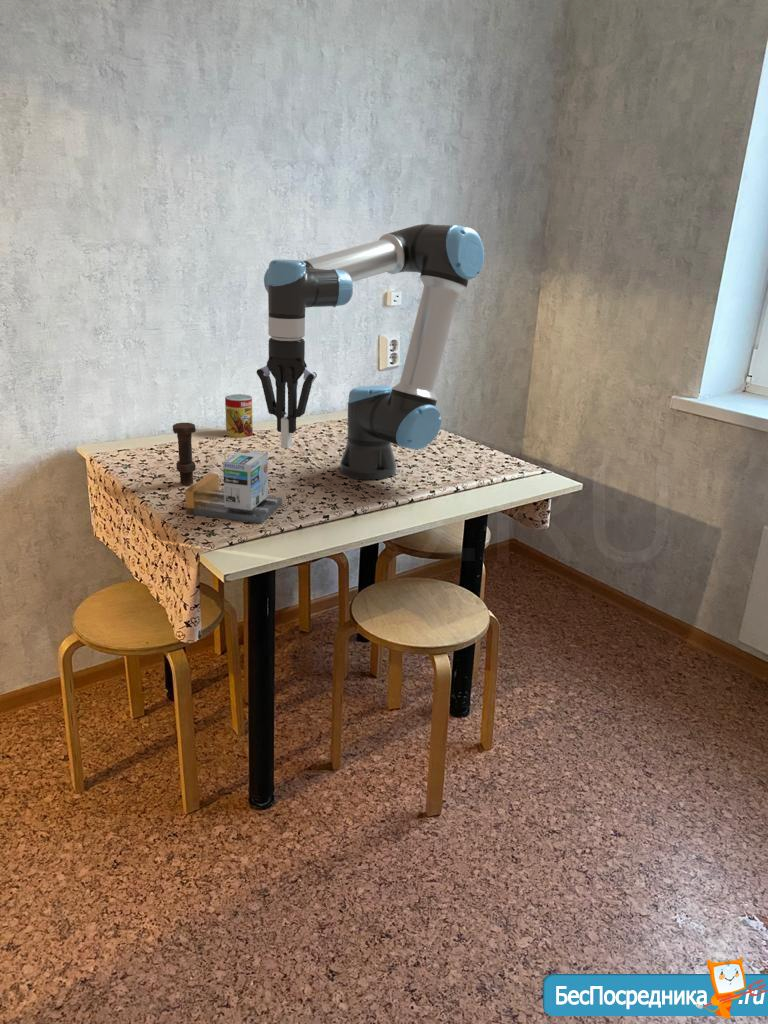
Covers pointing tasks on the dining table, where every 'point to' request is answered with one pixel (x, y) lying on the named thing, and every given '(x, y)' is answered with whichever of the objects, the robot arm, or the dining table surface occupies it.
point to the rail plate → (211, 503)
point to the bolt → (185, 451)
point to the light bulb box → (245, 479)
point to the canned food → (238, 415)
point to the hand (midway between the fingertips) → (286, 446)
